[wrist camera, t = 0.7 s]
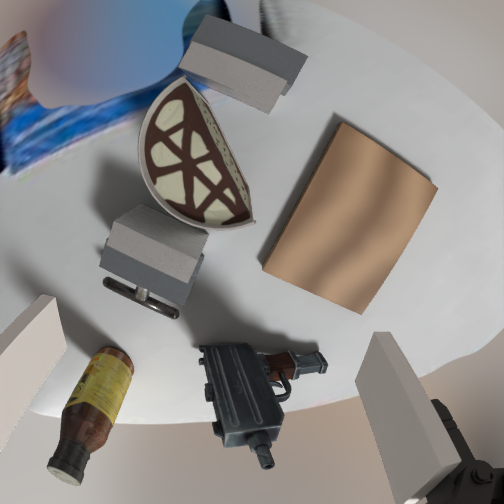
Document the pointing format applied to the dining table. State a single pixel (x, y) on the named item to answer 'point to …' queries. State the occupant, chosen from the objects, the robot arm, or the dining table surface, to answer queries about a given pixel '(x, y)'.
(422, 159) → the dining table surface
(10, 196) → the dining table surface
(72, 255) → the dining table surface
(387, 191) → the light brown board
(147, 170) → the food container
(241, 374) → the gun
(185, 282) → the grey blocks
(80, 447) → the sauce bottle
